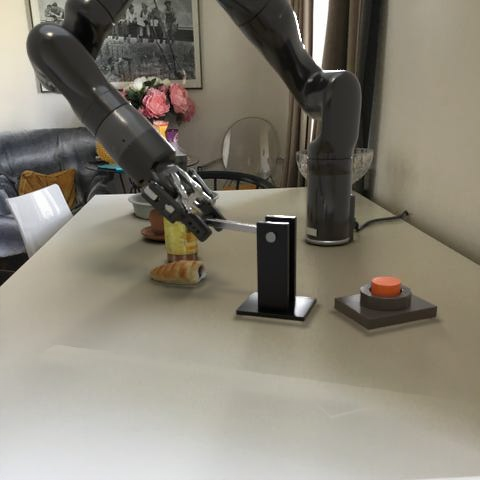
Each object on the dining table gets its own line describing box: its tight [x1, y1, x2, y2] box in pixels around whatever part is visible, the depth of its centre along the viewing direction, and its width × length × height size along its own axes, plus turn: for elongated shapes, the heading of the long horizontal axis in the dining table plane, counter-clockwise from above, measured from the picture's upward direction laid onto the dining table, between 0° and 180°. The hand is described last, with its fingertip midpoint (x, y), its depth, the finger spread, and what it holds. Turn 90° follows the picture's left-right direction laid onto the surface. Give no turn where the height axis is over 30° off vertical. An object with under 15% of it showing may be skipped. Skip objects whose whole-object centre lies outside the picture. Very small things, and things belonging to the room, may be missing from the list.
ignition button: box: [370, 276, 402, 296], centre depth 79 cm, size 4×4×2 cm
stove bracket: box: [235, 214, 318, 323], centre depth 81 cm, size 10×8×14 cm
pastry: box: [149, 260, 207, 286], centre depth 97 cm, size 9×7×4 cm
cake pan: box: [127, 190, 221, 220], centre depth 153 cm, size 25×25×4 cm
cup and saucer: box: [140, 209, 165, 242], centre depth 126 cm, size 12×12×6 cm
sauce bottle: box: [164, 153, 199, 263], centre depth 107 cm, size 6×6×20 cm
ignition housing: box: [333, 282, 438, 331], centre depth 80 cm, size 11×9×4 cm
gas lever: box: [200, 213, 275, 235], centre depth 80 cm, size 13×6×2 cm, turn 70°
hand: (215, 232), depth 82 cm, fingers closed on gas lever, 5 cm apart
